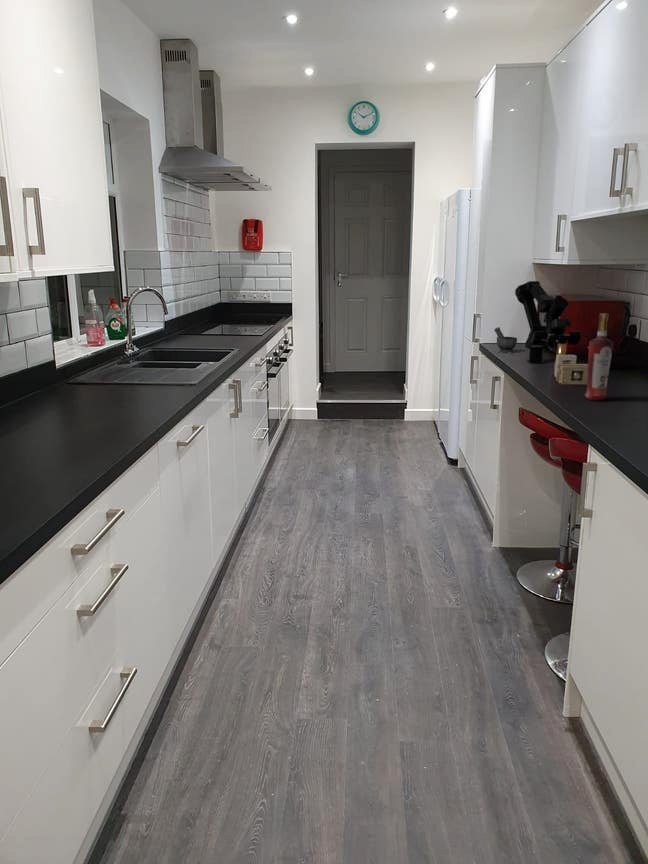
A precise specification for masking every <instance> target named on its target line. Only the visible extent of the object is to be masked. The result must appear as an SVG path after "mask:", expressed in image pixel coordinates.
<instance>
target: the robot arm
mask: <svg viewBox="0 0 648 864" xmlns="http://www.w3.org/2000/svg"><path fill="white" fill-rule="evenodd" d="M514 294H515V296H516V299H517V301H518V302H519V303H520V304H521V305H523V309H524V312H525V316H526V319H527V322H528V323H527V324H528V326H529V329H530V330H529V333H528V336H527V339H526V341H525V344H524V346H525V348H526V349H529V355H528V359H526V361H527V362H528V363H529V364H544V363H546V361H544V360H543V358H544V349H549V348H550V349H551V350H552V351H553V352H554V353H555V354H556V355H557V344H558V343H565V344H567V345H570V346H571V345H573V346H574V345H579V343H580V341H581V338H582V332H581V331H579V330H576V331H575V330H571V331H570V332H569V334H568V333H567V334H566V333H565V332H566V328H569V327H571V325H572V322H571V318H570V317H565V318H561V317H562V316H564V313H565V312H566V310H567V308H568V307H569V304H570V303H569V301H568V300H567V299H566V298H565V297H563V296H562V295H556V296H555V297H553V296H551V295H548V294H547V291H546V290H544V288H543V287H542V286H541V283H540V281H538V280H532V281H531V280H528V281H527V282H526V283H522V284H520V285H518V286H517V287H516V288H515V289H514ZM535 301H536V302H535ZM536 303H537V304H536ZM536 305H537V306H536ZM538 311H539V313H540V314H544V319H543V322H544V323H545V325H542V322H541V319H540V316H539V313H538ZM564 333H565V334H564ZM566 342H567V343H566Z"/></svg>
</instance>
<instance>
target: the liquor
mask: <svg viewBox="0 0 648 864" xmlns="http://www.w3.org/2000/svg"><path fill="white" fill-rule="evenodd" d="M608 320H609V313H605V312H603V313H602V312H601V313H599V316H598V329H597V332H596V333H597V338H595V339H592V340H589V341H588V355H587V356H588V358H587V364H588V376H587V384H586V392H585V393H584V396H585V397H586V398H587V400H589V401H593V400H595V402H599V401H600V400H602V401H603V400H605V399H606V398H608V396H607V395H608V394H607V386H608V379H609V374H610V372H609V371H610V369H611V367H610V366H611V361H612V355H613V350H614V349H613V348H614V342H613V340H612V341H611V340H609V339H607V333H608V330H607V329H608V327H607V326H608Z"/></svg>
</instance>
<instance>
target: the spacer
mask: <svg viewBox="0 0 648 864" xmlns="http://www.w3.org/2000/svg"><path fill="white" fill-rule="evenodd" d="M555 357H556V358H555V362H556V365H555V374H554V377H555V378H556V375H557V364H562V360H565V361H568V362H569V364H577V357H578V356H577V355H575V354H566V355H557V354H556V356H555ZM571 378H573V377H571Z"/></svg>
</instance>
